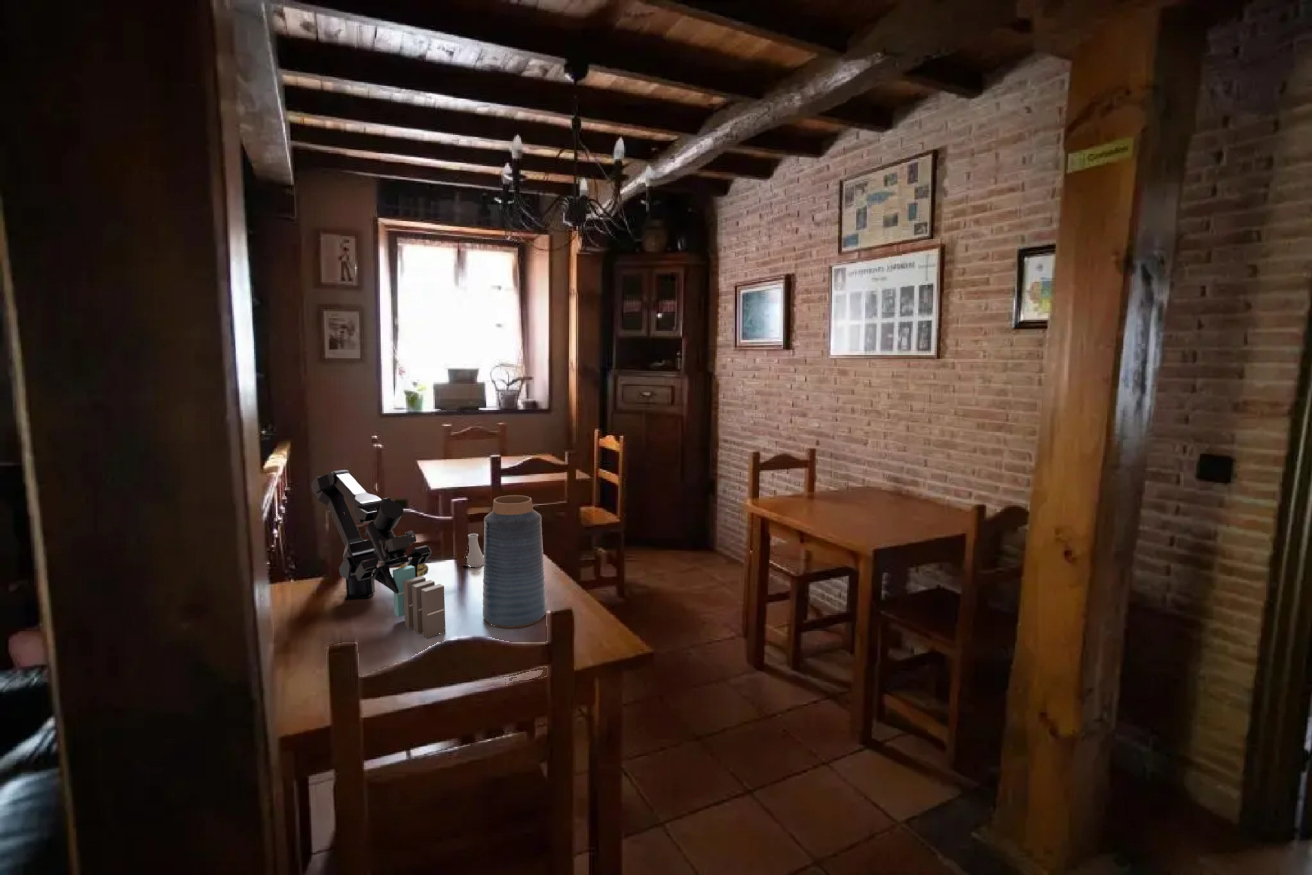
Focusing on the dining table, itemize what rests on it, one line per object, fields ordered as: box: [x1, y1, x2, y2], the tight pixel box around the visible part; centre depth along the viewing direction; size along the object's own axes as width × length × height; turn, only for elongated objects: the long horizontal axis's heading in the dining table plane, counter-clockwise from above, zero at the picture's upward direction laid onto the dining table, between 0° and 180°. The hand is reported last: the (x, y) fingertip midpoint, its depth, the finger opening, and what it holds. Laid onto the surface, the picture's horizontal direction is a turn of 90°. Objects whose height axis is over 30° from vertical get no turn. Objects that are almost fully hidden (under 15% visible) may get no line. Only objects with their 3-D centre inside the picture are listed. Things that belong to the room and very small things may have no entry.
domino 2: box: [412, 579, 436, 635], centre depth 163 cm, size 2×5×12 cm, turn 140°
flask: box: [466, 533, 484, 569], centre depth 212 cm, size 7×7×10 cm
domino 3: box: [421, 583, 446, 639], centre depth 160 cm, size 2×5×12 cm, turn 140°
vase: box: [482, 494, 547, 629], centre depth 170 cm, size 16×16×32 cm
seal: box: [397, 562, 429, 577], centre depth 206 cm, size 9×5×15 cm
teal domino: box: [392, 565, 415, 618], centre depth 169 cm, size 2×5×12 cm, turn 140°
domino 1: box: [403, 576, 427, 630], centre depth 166 cm, size 2×5×12 cm, turn 140°
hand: (407, 589), depth 168 cm, fingers closed on teal domino, 5 cm apart
